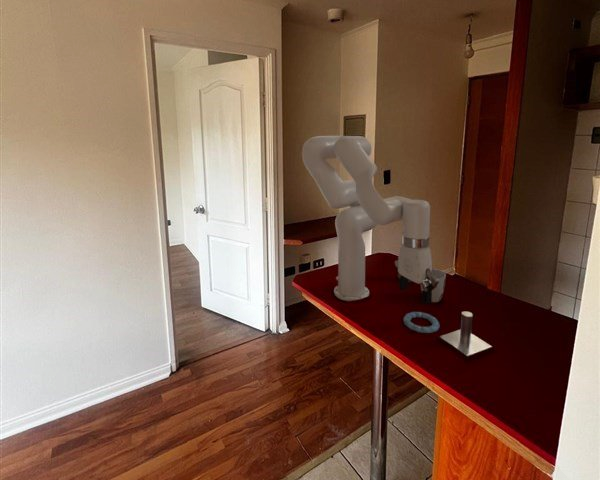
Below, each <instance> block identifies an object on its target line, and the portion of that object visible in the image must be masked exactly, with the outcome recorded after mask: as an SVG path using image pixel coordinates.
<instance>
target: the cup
mask: <svg viewBox="0 0 600 480" xmlns="http://www.w3.org/2000/svg"><path fill="white" fill-rule="evenodd" d="M432 273H433V274H434V275H435V276H436V277H437V278H438V280H439V283H438V285H437V287H436V288H435V289H434V290H432V301H431V302H430V303H439V302H440V301H441V300H442V298H443V294H444V290H445V286H446V277H447V274H446V273H445V272H444V271H442V270H440V269H438V268H432ZM424 280H425V279H424ZM425 284H426V286H428V284H427V282H425ZM420 290H421V292H422V291H423V288H422V285H421V283H420Z"/></svg>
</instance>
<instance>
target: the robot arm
mask: <svg viewBox="0 0 600 480" xmlns="http://www.w3.org/2000/svg"><path fill="white" fill-rule="evenodd" d="M371 153H372V144H371V142H370V141H369V139H367V138H366V137H365V136H362V135H318V136H313V137H310V138H308V139H306V141H305V142H304V144H303V146H302V150H301V157H302V161H303V165H304V166H305V168H306V170H307V171H308V173H309V174H310V176H311V177H312V178H313V180H314V182H315V184H316V185H317V187H318V189H319V191H320V192H321V195H322V196H323V198H324V200H325V201H326V203H327V205H328V206H329V207H330V208H332V209H335V210H339V209H343V208H344V209H343V210H341V211H340V212H339V213H337V215H336V217H335V221H334V225H335V231H336V235H337V236H336V237H337V261H338V262H337V266H338V267H337V272H338V273H337V276H336V277H335V280H336V281H337V285H336V286H335V287H334V289H333V294H334V296H335V298H337V299H339V300H341V301H345V302H353V301H357V300H362V299H365V298H368V297H369V296H370V289H368V287H366V243H365V241H364V238H363V236H362V235H363V233H366V232H369V231H372V230H374V229H375V228H376V227H377V226H378V225H380V226H386V225H389V224H392V223H395V222H400V221H402V230H401V231H402V234H401V239H402V240H401V241H402V242H401V243H400V246H399V249H398V257H397V259H396V260H394V265H395V270H396V272H397V277H398V290H399V291H404V290H408V289H409V282H408V280H411V281H413V282H414V283H415V284H418V285H419V284H420V283H421V284H420V286H421V285H422V288H423V291H421V304H422V305H426V304H430V303H432V302H431V301H432V290H434V289H435V288H436V287H437V285H438V283H439V280H438V278H437V277H436V276H435V275H434V274H433V273H432V269H433V259H432V251H431V248H430V233H431V232H430V228H431V224H430V223H431V205H430V203H429V202H428V201H427V200H424V199H413V198H408V197H405V196H400V195H395V196H391V197H386V198H383V197H382V196H381V195H380V193H379V192H378V191H377V189H376V187H375V184H374V181H373V180H374V179H373V178H374V177H375V176H376V174H377V173H378V166H377V165H376V163H375V162H374V161H373V159H371V158H370V155H371ZM331 159H338V161H339V162H340V164H341V165H342V166H343V167H344V169H345V170H346V171H347V172H348V174H349V175H350V177H351V179H348V180H347V179H346V180H343V179H342V178H341V176H339V174H338V172H337V169H335V167H334V166H333V165H331V164H330V163H329V162H328V161H326V160H331ZM424 279H425V280H424ZM413 282H412V283H413ZM425 282H427V284H428V286H426V284H425Z"/></svg>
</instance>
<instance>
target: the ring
mask: <svg viewBox="0 0 600 480" xmlns="http://www.w3.org/2000/svg"><path fill="white" fill-rule="evenodd" d="M414 318H422V319H425V320H428V321H429V322H430V324H431V325H429V326H421V325H417V324H415V323H413V322H412V321H411V320H412V319H414ZM402 321H403V324H404V325H405V327H407V328H408V329H410V330H412V331H415V332H416V333H420V334H421V333H422V334H432V333H435V332H437V331H439V329H440V327H441V324H440V322H439V321H438V318H436V317H435V316H433V315H432V314H429V313H426V312H423V311H411V312H408V313H406V314H405V315H404V317H403V318H402Z"/></svg>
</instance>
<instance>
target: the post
mask: <svg viewBox="0 0 600 480" xmlns="http://www.w3.org/2000/svg"><path fill="white" fill-rule="evenodd" d="M473 316H474V315H473V313H472V312H470V311H461V315H460V317H461V318H460V319H461V320H460V329H457V330H455V331H451V332H449V333H445V334H442V335H440V336H439V339H441V340H443V341H444V342H446V343H447V344H449V346H451V347H452V348H454V349H456V350H457V351H458V352H460V354H462V355H464V356H465V357H466V358H468V357H471V356H474V355H476V354H479V353H481V352H484V351H487V350H490V349H492V348H493V346H492V345H490V344H489V343H487V342H486V341H484V340H482V339H481V338H479V337H478V336H476V335H475V334H473V333H472V331H473V330H472V329H473Z"/></svg>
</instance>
